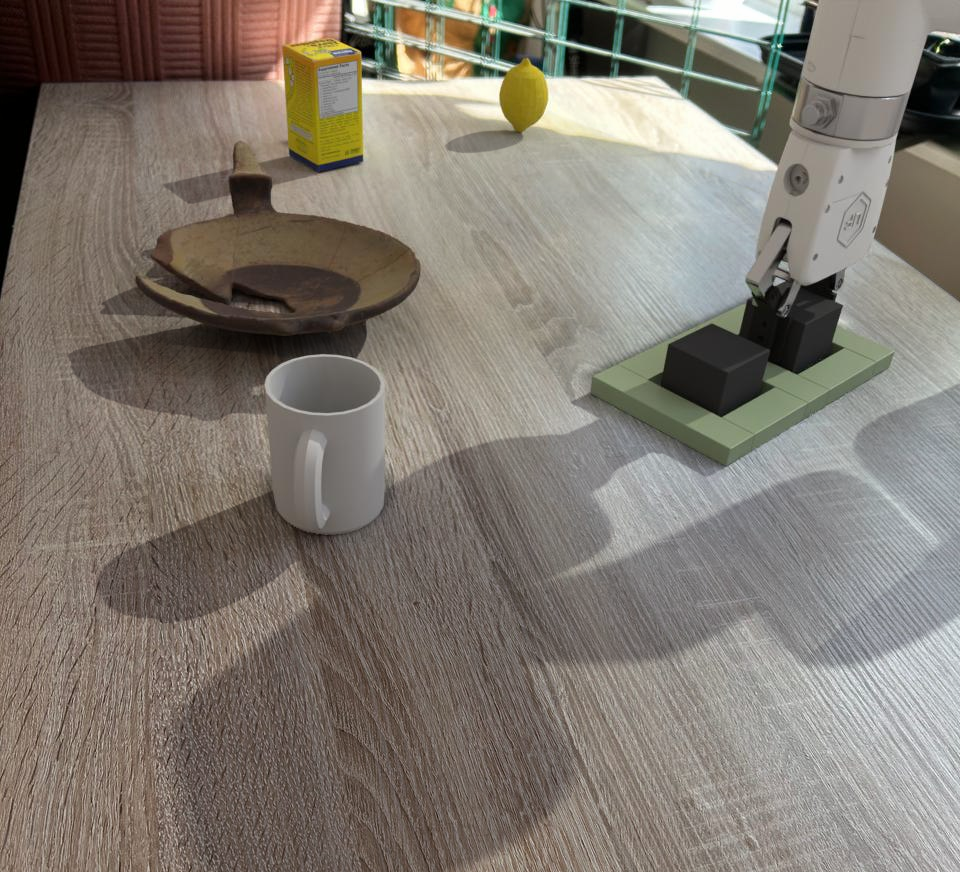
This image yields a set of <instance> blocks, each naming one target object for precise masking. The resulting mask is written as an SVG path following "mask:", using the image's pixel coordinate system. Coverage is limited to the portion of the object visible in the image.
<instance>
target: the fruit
mask: <svg viewBox="0 0 960 872" xmlns="http://www.w3.org/2000/svg"><path fill="white" fill-rule="evenodd" d="M498 95H499V96H498V97H499V99H498V100H499V106H500V109H501V112H502V114H503V116H504V118H505V119H506V121H507V122H508V123H510V124H511V126H512V128H513V130H514V131H516V132H517V133H523V132H525V131H526V130H527V129H528V128H530V127H532V126H534V125H535V124H536V123H538V122H539V121H540V120H541V119H542V117H543V115H544V114H545V112H546V109H547V106H548V102H549V88H548V83H547V80H546V77H545V75H544V72H542V70H540V68H538V67H537V66H534V65H533V64H532V63H531V60H530V59H529V58H528V56H526V57H524V58H523V59H522V60H521V61H520V63H518V64H516V65H514V66H513V67H511V68H509V70H508V71H507V73H506V74H505V76H504V78H503V80H502V82H501V85H500V89H499V94H498Z"/></svg>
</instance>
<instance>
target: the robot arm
mask: <svg viewBox="0 0 960 872" xmlns="http://www.w3.org/2000/svg"><path fill="white" fill-rule="evenodd" d="M934 32H941V33H948V34H955V35H960V0H818V2H817V7H816V10H815V14H814V19H813V23H812V27H811V31H810V35H809V40H808V44H807V49H806V52H805V57H804V60H803V64H802V69H801V74H800V77H799V81H798V86H797V90H796V94H795V98H794V102H793V106H792V111H791V115H790V119H789V123H788V124H789V126H790V128H791V131H790V133H789V135H788V139H787V140H786V143H785V145H784V149H783V152H782V154H781V157H780V160H779V163H778V165H777V170H776V172H775V175H774V177H773V180H772V181H773V182H772V184H771V189H770V191H769V194H768V198H767V200H766V201H767V202H766V204H765V209H764V212H763V216H762V220H761V224H760V228H759V232H758V237H757V241H756V242H757V243H756V249H755V256H754V258H755V261H754V262H753V264H752V266H751V267H750V269H749V271H748V273H747V275H745V276H746V277H745V281H744V282H745V284H746V285H747V287H748V289H749V290H750V291H751V293H750V294H751V297H753V301H752V304H753V305H754V306H755V307H754V311H753V316H752V320H751V324H750V328H749V332H748V336H747V340H749V341H752V342H754V343H756V344H758V345H760V346H762V347H765V348H767V349H769V350H770V353H769V357H768V361H770V362H772V363H777V362H779V361H781V360H782V357H783V353H784V349H785V346H786V342H787V338H788V335H789V331H790V327H791V324H792V320H793V316H792V315H790V314H789V312H790V309H791V307H792V305H793V303H794V300H795V298H796V296H797V293H798V291H799V289H800V287H802V288H804V289H806V290H809V291H811V292H813V293H816V294H818V295H821V296H823V297H825V298H828V299H830V300H832V301H835V302H836V299H837V296H838V293H837V292H838V291H839V290H841V288H842V286H843V285H844V281H845V274H846V269H847V268H849V267H851V266H852V265H855V264H856V263H858V262H860V261H861V260H863V259H864V258H865V257H866V256H867V255H868V254H869V252H870V250H871V248H872V245H873V242H874V239H875V234H876V231H877V228H878V225H879V220H880V217H881V213H882V209H883V205H884V202H885V196H886V194H887V189H888V184H889V180H890V176H891V172H892V166H893V162H894V156H895V151H896V150H895V148H896V143H897V137H898V134H899V131H900V128H901V124H902V121H903V118H904V114H905V111H906V108H907V104H908V101H909V98H910V95H911V91H912V88H913V85H914V81H915V78H916V75H917V72H918V68H919V65H920V61H921V58H922V55H923V52H924V49H925V45H926V42H927V39H928V36H929V35H930V34H931V33H934ZM781 262H784V263H787V267H788V270H787V269H784V268H782V267H780V263H781ZM776 278H777V279H780V280H782V281H787V282H788V284H787V286H786V289H785V291H784V293H783V296H782V295H781V293H780V290H779V288H778V287H776V285H774V282H775V281H776Z"/></svg>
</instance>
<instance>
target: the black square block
mask: <svg viewBox="0 0 960 872" xmlns="http://www.w3.org/2000/svg"><path fill="white" fill-rule="evenodd" d="M787 284H788V282H787V281H785V280H783V281H782V282H781V283H778V284H776V285H775V286H776V287H778V288H779V290H780V293H781V295H782V296H783V293H784V291H785V289H786V286H787ZM752 301H753V296H750V297H749V298H747V300H746V302H745V303H746V307H745V311H744V315H743V319H742V324H741V328H740V332H739V336H741V337H743V338H745V339H747V336H748V332H749V328H750V324H751V320H752V316H753V311H754V307H755V306H754V305H753V304H752ZM843 307H844V305H843V304H842V303H840V302H837V301H836V300H835V301H832V300H830V299H828V298H825V297H823V296H821V295H818V294H816V293H813V292H811V291H809V290H806V289H804V288H802V287H800V289H799V291H798V293H797V296H796V298H795V300H794V303H793V305H792V307H791V309H790V312H789V314H790V315H792V316H793V320H792V324H791V327H790V331H789V335H788V338H787V342H786V346H785V349H784V353H783V357H782V360H781V361H779V362H777V363H773V364H775V365H777V366H779V367H781V368H783V369H786V370H788V371H790V372H792V373H794V374H796V375H798V374H799V373H801V372H803V371H805V370H806V369H808V368H810V367H812V366H814V365H815V364H817V363H819V362H821V361H822V360H824V359H826V357H827V356H828V354H829V351H830V347H831V344H832V341H833V337H834V334H835V331H836V327H837V326H838V324H839V320H840V318H841V314H842V310H843ZM769 362H770V361H769ZM771 363H772V362H771Z"/></svg>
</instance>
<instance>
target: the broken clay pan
mask: <svg viewBox="0 0 960 872" xmlns="http://www.w3.org/2000/svg"><path fill="white" fill-rule="evenodd" d="M232 165H233V167H232V173H231V174H230V176H229V177H228V181H227V182H228V188H229V194H230V197H231V206H232V210H233V213H228V214H227V215H224V216H220V217H216V218H211V219H206V220H201V221H195V222H192V223H188V224H185V225H182V226H180V227H176V228H172V229H169V230H167V231H165V232H163V233H162V234H160V235H159V236H158V237H157V240H156V245H155V247H154V248H153V250H152V251H150V253H149V257H150V258H151V259H152V260H153V261H155V262H156V263H157V264H158V265H159V266H160V267H161V268H163V269H164V270H165V271H166V272H168V273H169V274H172V275H174V277H176V278H177V279H178V280H179V281H181V282H182V283H184V284H186V285H187V286H189V287H190V288H191V290H195V291H196V292H197V293H200V294H202V295H203V296H204V297H206V298H201V297H196V296H193V295H191V294H190V295H189V294H184V293H180V292H177V291H176V290H174V289H171V288H169V287H166V286H162V285H161V284H158V283H156V282H154V281H152V280H150V279H148V278H147V277H144V276H141V275H135V277H134V279H135V280H134V281H135V285H136V286H137V287H138V289H139V290H140V291H141V292H142V294H144V295H145V296H146V297H147V298H149V299H150V300H151V301H153V302H155V303H156V304H158V305H159V306H160V307H162V308H165V309H166V310H169V311H170V312H173V313H175V314H177V315H180V316H182V317H184V318H186V319H189V320H192V321H195V322H198V323H200V324H203V325H207V326H211V327H213V328H218V329H223V330H227V331H232V332H239V333H247V334H259V335H270V336H271V335H275V336H283V337H286V336H287V337H289V336H290V337H291V336H295V335H306V334H315V333H323V332H338V331H341V330H343V329H344V328H346V327H350V326H353V325H357V324H359V323H362V322H364V321H367V320H370V319H374V318H375V317H377V316H379V315H382V314H384V313H387V312H388V311H390V310H392V309H394V308H395V307H398V306H399V305H400V304H402V303H403V302H404V301H406V300H407V299H408V297H409V296H410V295H411V294H413V292H414V291H415V289H416V288H417V286H418V284H419V281H420V277H421V262H420V259H419V258H416V254H415V252H414V251H413V249H412V248H411V247H409V246H408V245H407V244H405V243H404V242H402V241H401V240H399V238H396V237H394V236H392V235H390V234H388V233H386V232H383V231H381V230H378V229H374V228H372V227H368V226H365V225H361V224H356V223H353V222H349V221H347V220H340V219H338V218H331V217H327V216H320V215H317V214H316V215H314V214H301V213H290V212H279V211H277V210H276V209H275V208H274V206H273V204H272V190H273V180H272V179H273V178H272V176H271V175H270V174H267V173H265V172H264V171H263V169H262V167H261V166H260V164H259V162H258V160H257V158H256V155H255V153H254V151H253V150H252V148H251V146H250V145H249V144H248V143H246V142H245V141H243V140H239V141H237V142H236V143H235V144H234V146H233V151H232ZM233 289H235V290H238V291H241V292H243V293H244V294H246V295H249V296H254V295H255V297H258V298H259V297H260V298H264V299H268V300H276V301H278V302H282V303H284V304H285V306H286V307H287V308H289V309H290V311H291V312H273V311H270V310H269V311H263V310H256V309H251V310H249V309H248V308H246V307H245V308H244V307H240V306H233V305H231V302H232V298H233Z"/></svg>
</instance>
